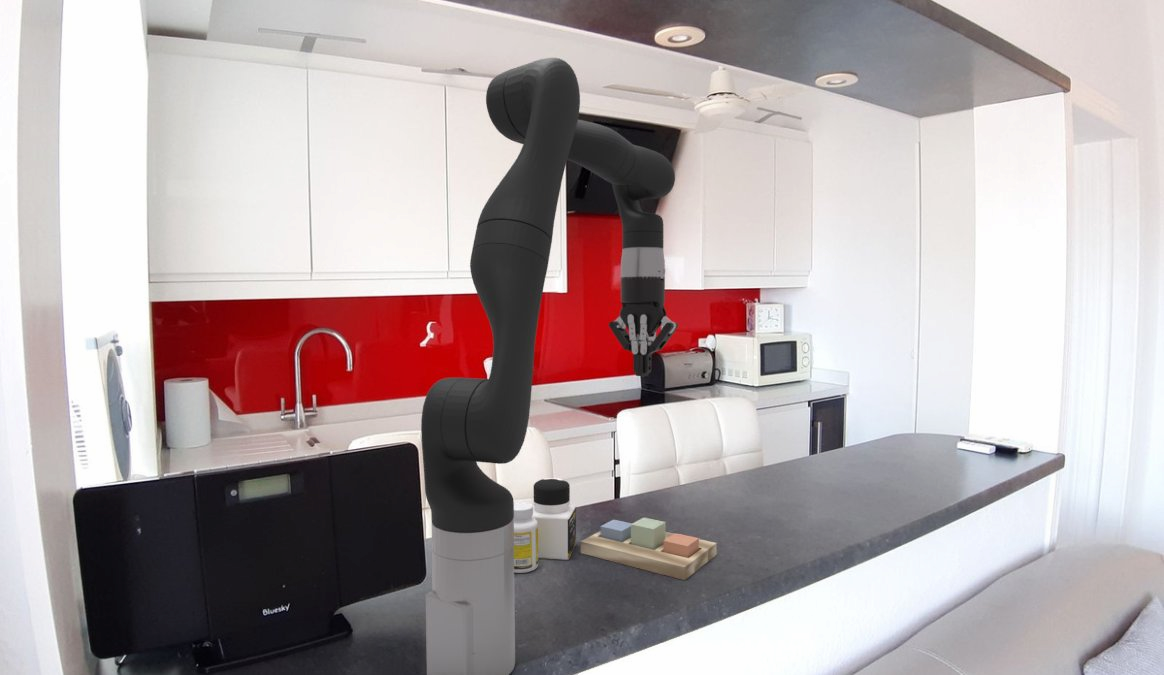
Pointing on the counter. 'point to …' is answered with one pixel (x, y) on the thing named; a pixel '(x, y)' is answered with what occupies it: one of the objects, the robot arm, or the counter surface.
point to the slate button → (616, 530)
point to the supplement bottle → (525, 538)
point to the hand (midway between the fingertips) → (642, 375)
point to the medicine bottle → (554, 519)
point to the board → (649, 556)
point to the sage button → (648, 533)
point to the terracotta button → (681, 545)
